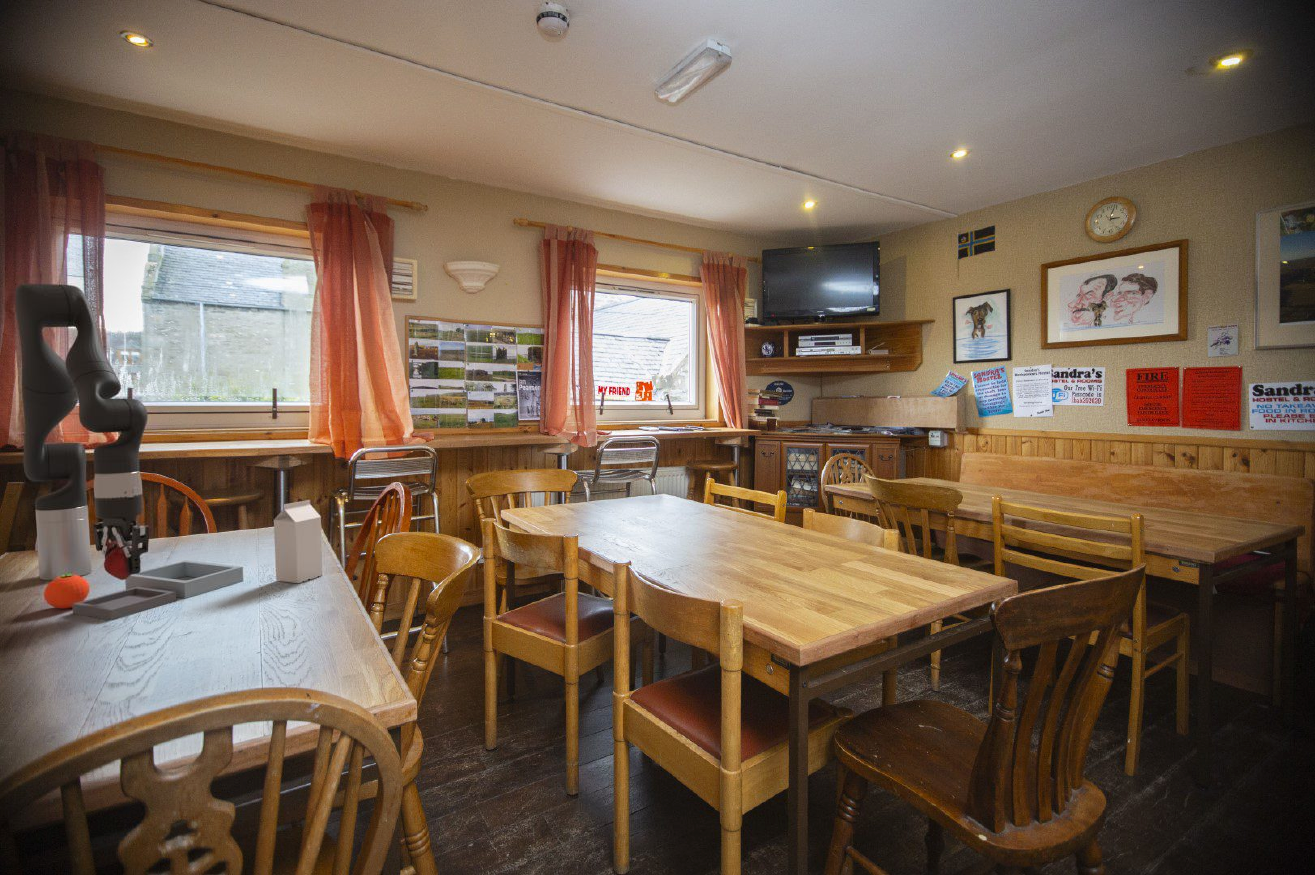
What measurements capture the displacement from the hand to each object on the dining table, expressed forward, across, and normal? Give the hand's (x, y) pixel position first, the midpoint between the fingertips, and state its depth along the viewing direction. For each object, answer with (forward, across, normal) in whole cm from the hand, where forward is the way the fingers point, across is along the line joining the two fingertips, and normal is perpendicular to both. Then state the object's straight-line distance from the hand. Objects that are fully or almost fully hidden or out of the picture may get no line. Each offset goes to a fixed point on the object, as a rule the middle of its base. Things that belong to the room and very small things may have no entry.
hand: (123, 572), depth 127 cm
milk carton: (+8, +17, +27) cm, 33 cm away
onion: (+2, 0, 0) cm, 2 cm away
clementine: (+8, -12, -4) cm, 15 cm away
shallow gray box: (+8, -4, +15) cm, 17 cm away
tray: (+8, 0, 0) cm, 8 cm away
